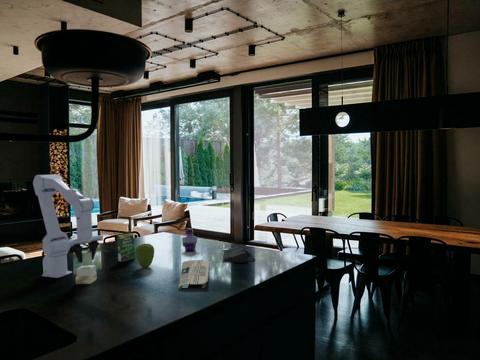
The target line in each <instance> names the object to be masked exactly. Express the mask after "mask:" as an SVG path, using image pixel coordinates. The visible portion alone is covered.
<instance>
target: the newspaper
mask: <svg viewBox="0 0 480 360" xmlns="http://www.w3.org/2000/svg"><path fill="white" fill-rule="evenodd" d="M209 269H210V260H204V259H193V260H192V259H190V260H185V261H183V262H182V264H181V269H180V270H181V271H180V275H179V282H178V287H177V288H178V290H182V289H181V288H182V286H183V285H187V284H190V285H200V286H201V288H202V289H204V288H206V286H207V282H208V279H209Z"/></svg>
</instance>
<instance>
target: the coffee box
mask: <svg viewBox="0 0 480 360" xmlns="http://www.w3.org/2000/svg"><path fill="white" fill-rule="evenodd" d="M134 235H135V233H134V232H128V233H124V234H118V235H116V245H117V260H118V262H120V263H123V262H127V261H132V260H135V259H136V253H135V251H136V248H135V236H134Z"/></svg>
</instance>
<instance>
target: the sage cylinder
mask: <svg viewBox="0 0 480 360" xmlns="http://www.w3.org/2000/svg"><path fill="white" fill-rule="evenodd" d="M79 264H80V265H79V266H80V267H81V266H88V265H93V260H92V252H91V251H89V250H85V251H82V263H79Z"/></svg>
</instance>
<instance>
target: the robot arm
mask: <svg viewBox="0 0 480 360" xmlns="http://www.w3.org/2000/svg"><path fill="white" fill-rule="evenodd" d="M32 185H33V190H34V193H35V196H37V198H38V203H39V205H40V210H41V214H42V218H43V222H44V226H45V230H46V235H45V236H44V237H43V239H42V240H41V241H42V250H43V253H44V255H45V256H44V257H43V259H42V269H43V270H42V271H43V272H42V273H43V274H42V275H41V277H48V278H55V279H56V278H57V279H58V278H61V277H64V276H67V275H70V274H72V273H73V271H71V270H68V258H67V257H68V255H67V254H69V251H70V249H72V250H73V252H74V254H75V256H76V259H77V262H78V263H79V264H80V263H82V252H83V249H84V248H83V246H82V245H84V244H87V245H88V251H91V252H92V261H93V260H94V259H95V255H96V252H97V249H98V247H99V245H100V242H101V241H103V240H104V236H103V235H101V234H100V235H94V236H93V222H92V218H93V217H92V212H93V211H94V208H95V202H94V200H93V199H92V198H91V197H85V196H84V195H83V194H81V193H80V192H79V191H78V190H77V189H76V188H70V187H69V186H68V185H67V184H66V183H65V182H64V181H63V176H62V175H60V174H58V173H55V174H37V175H35V176H34V179H33V181H32ZM57 192H59V193H60V194H61V195H63V200H64V201H65V202H67V203H68V204H69V205H70V206H71V207H72V211H73V212H74V218H75V220H76V237H77V238H75V239H71V240H70V239H69V237H68V234H67V233H66V232H63V231H61V227H60V225H59V219H58V216H57V212H56V207H55V203H54V201H53V196H54V195H55V194H56V193H57ZM99 241H100V242H99Z"/></svg>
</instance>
